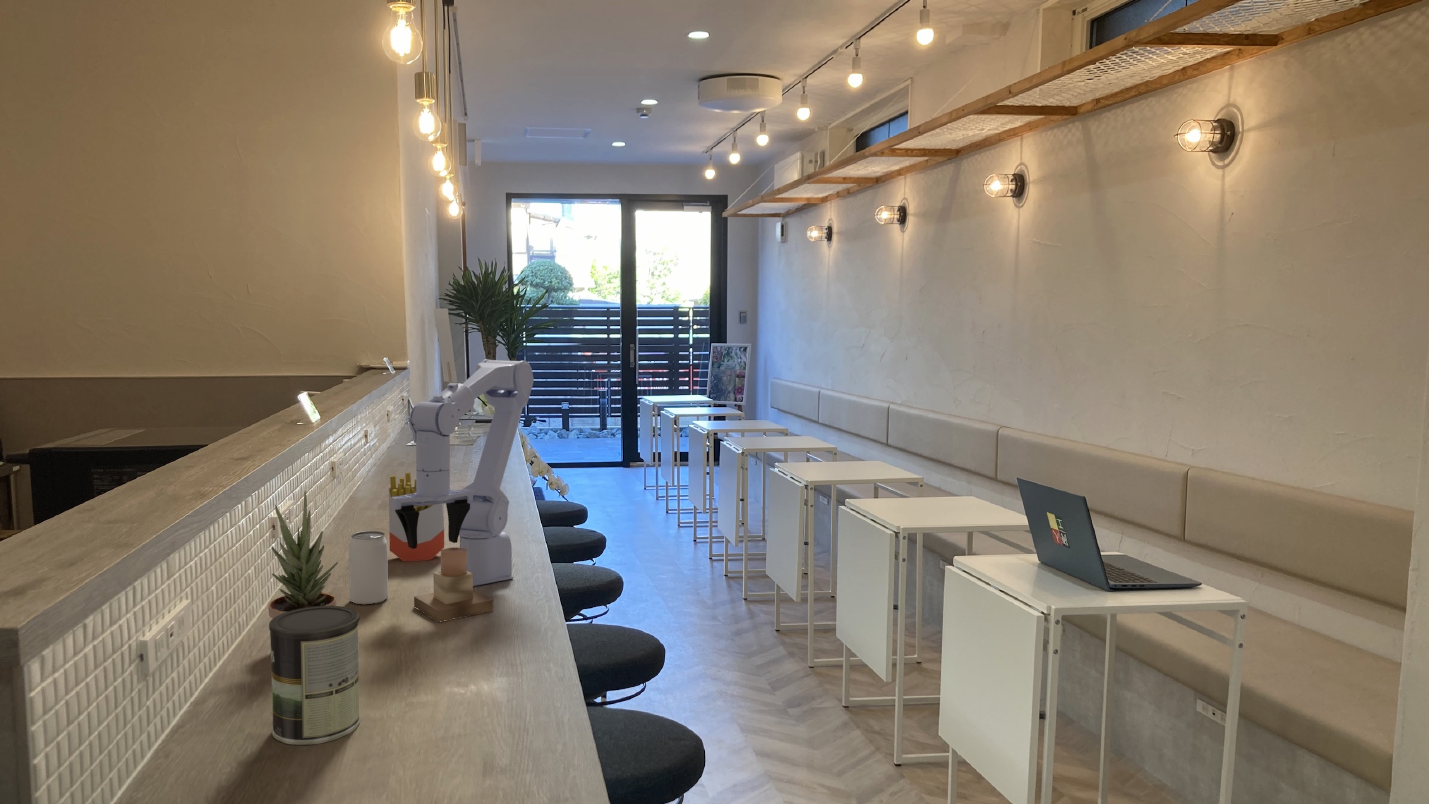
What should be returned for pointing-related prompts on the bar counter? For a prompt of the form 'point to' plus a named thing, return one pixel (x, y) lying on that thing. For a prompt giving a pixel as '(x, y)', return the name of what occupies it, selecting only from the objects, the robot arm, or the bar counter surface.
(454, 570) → the brown rounded piece
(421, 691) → the bar counter surface
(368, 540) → the can
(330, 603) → the potted plant
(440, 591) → the block
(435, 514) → the french fries container
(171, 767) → the bar counter surface
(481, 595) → the board
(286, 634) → the coffee can
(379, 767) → the bar counter surface
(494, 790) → the bar counter surface
